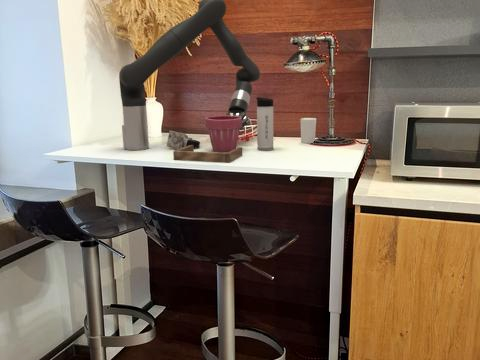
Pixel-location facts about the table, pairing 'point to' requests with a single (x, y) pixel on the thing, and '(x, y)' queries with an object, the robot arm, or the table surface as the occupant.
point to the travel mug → (264, 124)
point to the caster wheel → (180, 140)
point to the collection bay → (206, 155)
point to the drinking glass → (308, 130)
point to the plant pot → (223, 132)
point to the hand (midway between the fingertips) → (230, 136)
